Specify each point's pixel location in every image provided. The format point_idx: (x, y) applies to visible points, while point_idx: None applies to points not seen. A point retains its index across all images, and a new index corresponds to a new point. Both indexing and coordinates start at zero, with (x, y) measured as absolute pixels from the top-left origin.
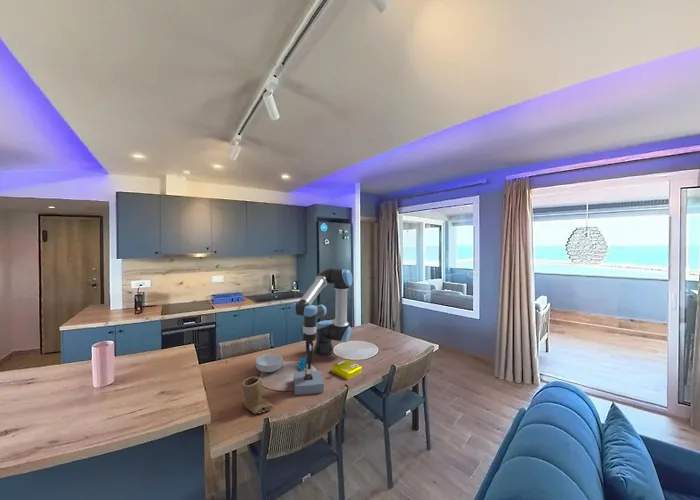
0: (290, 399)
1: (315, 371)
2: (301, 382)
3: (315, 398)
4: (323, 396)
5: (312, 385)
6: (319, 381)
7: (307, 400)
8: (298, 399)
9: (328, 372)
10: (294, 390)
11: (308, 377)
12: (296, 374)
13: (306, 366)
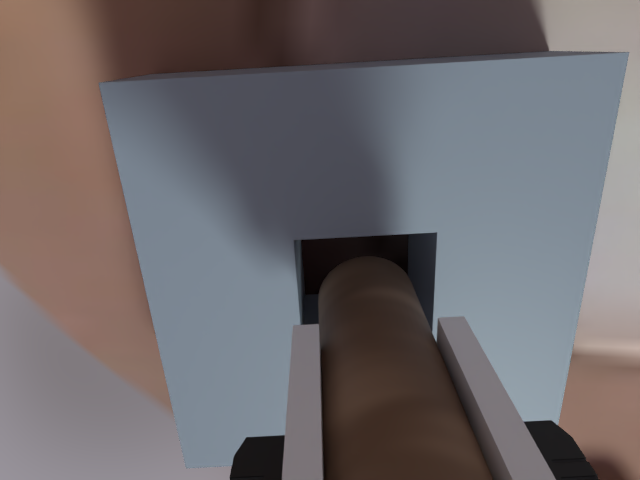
0: (50, 12)
1: (537, 397)
2: (233, 195)
3: (96, 312)
4: (137, 384)
5: (160, 341)
6: (248, 428)
7: (50, 230)
8: (60, 124)
9: (603, 457)
10: (249, 68)
11: (319, 316)
12: (528, 107)
13: (351, 426)
